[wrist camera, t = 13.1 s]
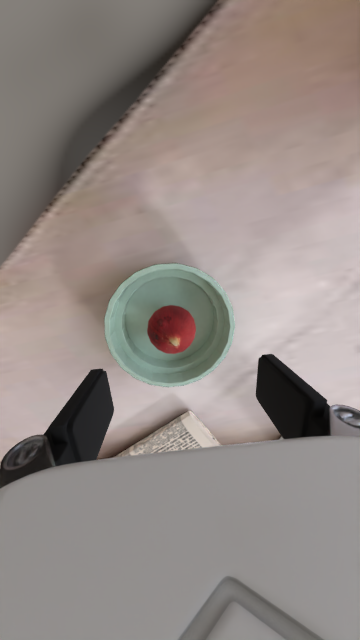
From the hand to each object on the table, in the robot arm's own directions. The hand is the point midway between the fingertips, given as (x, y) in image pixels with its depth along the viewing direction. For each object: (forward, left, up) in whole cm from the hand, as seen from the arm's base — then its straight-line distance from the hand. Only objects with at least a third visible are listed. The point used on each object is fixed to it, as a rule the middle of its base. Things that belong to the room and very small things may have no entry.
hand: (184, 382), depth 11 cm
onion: (0, 0, -15) cm, 15 cm away
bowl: (0, -1, -15) cm, 15 cm away
